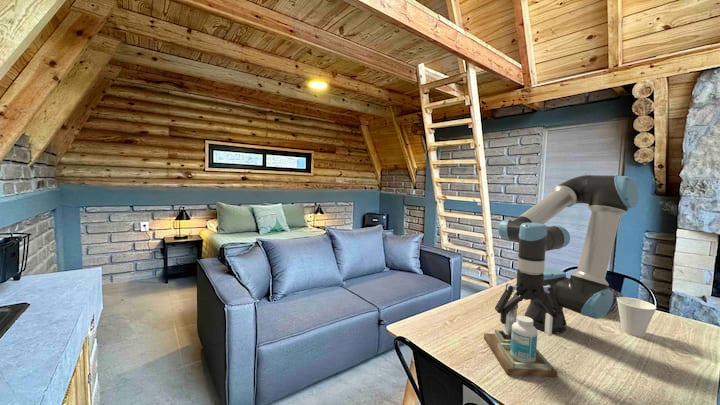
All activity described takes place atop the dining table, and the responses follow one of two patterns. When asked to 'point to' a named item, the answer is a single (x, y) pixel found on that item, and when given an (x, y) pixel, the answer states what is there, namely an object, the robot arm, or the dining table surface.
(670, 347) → the dining table surface
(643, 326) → the cup
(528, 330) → the pill bottle
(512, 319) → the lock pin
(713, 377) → the dining table surface
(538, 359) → the dock board
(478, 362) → the dining table surface
